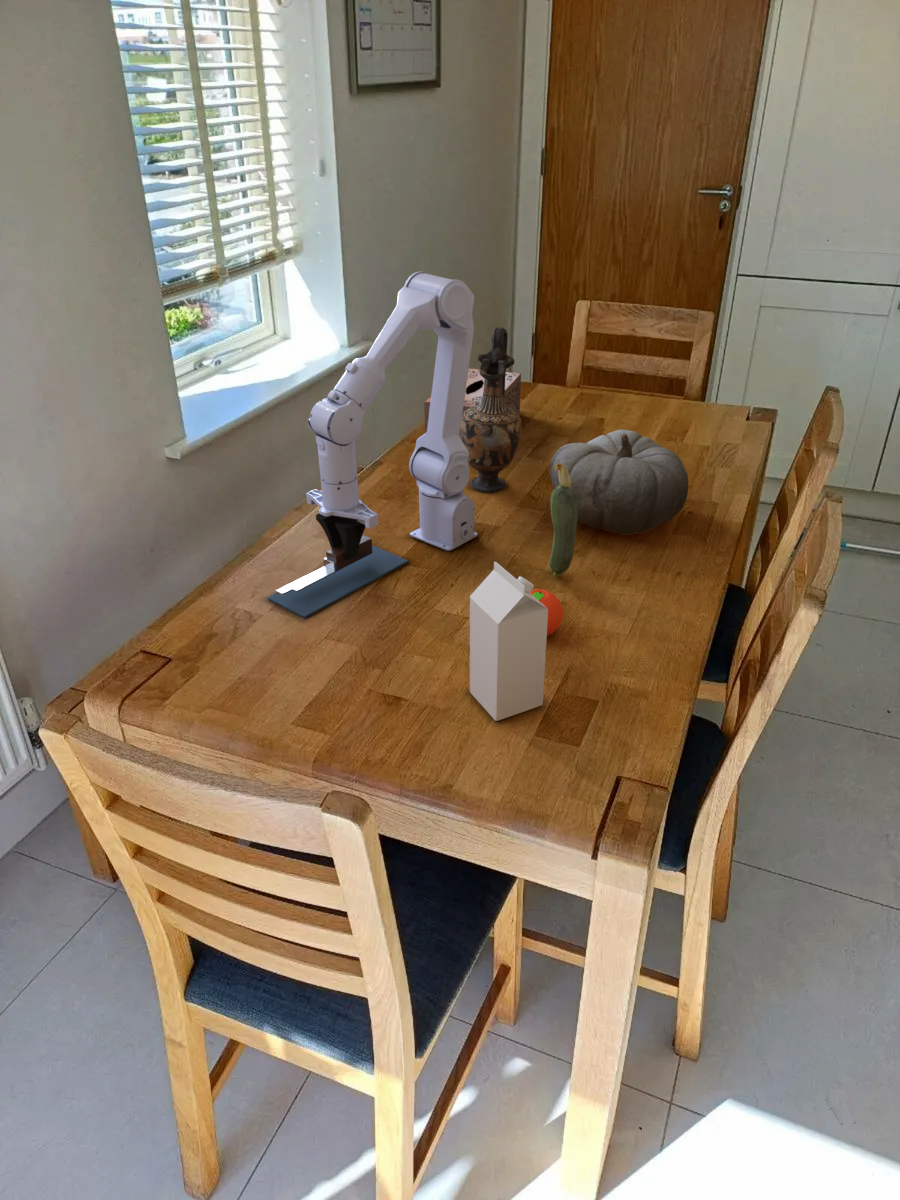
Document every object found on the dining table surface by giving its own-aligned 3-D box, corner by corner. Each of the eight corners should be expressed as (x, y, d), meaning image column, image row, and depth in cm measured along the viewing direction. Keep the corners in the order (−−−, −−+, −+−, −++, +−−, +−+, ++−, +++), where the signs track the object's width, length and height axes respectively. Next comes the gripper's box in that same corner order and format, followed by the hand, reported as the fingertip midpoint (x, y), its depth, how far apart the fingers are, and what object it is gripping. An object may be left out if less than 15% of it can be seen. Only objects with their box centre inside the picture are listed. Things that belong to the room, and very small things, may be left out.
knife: (362, 548, 148) (361, 534, 146) (373, 553, 146) (372, 538, 145) (275, 592, 136) (273, 576, 134) (286, 597, 134) (284, 581, 133)
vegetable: (575, 573, 144) (584, 459, 133) (570, 586, 140) (578, 470, 130) (549, 569, 145) (556, 456, 135) (543, 582, 142) (549, 466, 131)
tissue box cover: (488, 453, 189) (488, 408, 184) (425, 445, 193) (424, 401, 188) (519, 414, 210) (521, 373, 204) (462, 408, 214) (462, 367, 209)
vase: (451, 492, 172) (450, 337, 156) (474, 468, 182) (475, 321, 166) (508, 501, 168) (512, 343, 152) (528, 477, 178) (534, 326, 162)
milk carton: (496, 722, 111) (498, 594, 101) (469, 692, 117) (469, 568, 107) (543, 706, 114) (550, 580, 104) (515, 677, 120) (519, 554, 110)
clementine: (545, 655, 124) (547, 612, 120) (502, 641, 127) (503, 599, 123) (569, 628, 130) (572, 587, 126) (528, 615, 133) (529, 575, 129)
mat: (408, 562, 148) (408, 560, 147) (304, 618, 133) (304, 616, 133) (371, 546, 153) (371, 544, 152) (267, 599, 138) (267, 597, 138)
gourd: (519, 518, 155) (539, 423, 148) (568, 489, 176) (588, 404, 169) (654, 563, 146) (682, 463, 139) (689, 526, 167) (715, 438, 160)
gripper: (288, 473, 138) (297, 549, 145) (352, 498, 130) (358, 577, 137) (322, 460, 142) (329, 534, 149) (386, 483, 134) (390, 561, 141)
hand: (345, 554), depth 143 cm, fingers closed on knife, 2 cm apart
